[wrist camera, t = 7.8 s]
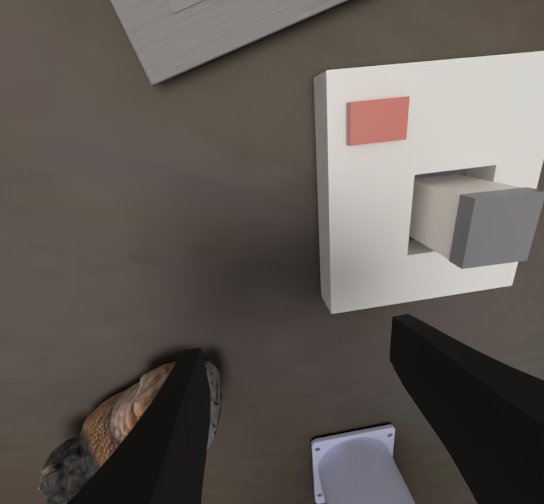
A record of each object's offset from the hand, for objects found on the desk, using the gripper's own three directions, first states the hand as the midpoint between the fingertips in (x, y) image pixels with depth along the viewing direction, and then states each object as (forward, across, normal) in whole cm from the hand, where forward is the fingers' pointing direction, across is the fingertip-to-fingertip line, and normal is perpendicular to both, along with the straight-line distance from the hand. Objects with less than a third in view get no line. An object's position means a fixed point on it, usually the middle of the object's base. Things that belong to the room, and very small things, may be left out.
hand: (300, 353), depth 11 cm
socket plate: (+10, -10, -3) cm, 14 cm away
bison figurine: (+10, +11, +11) cm, 18 cm away
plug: (+10, -11, -2) cm, 15 cm away
